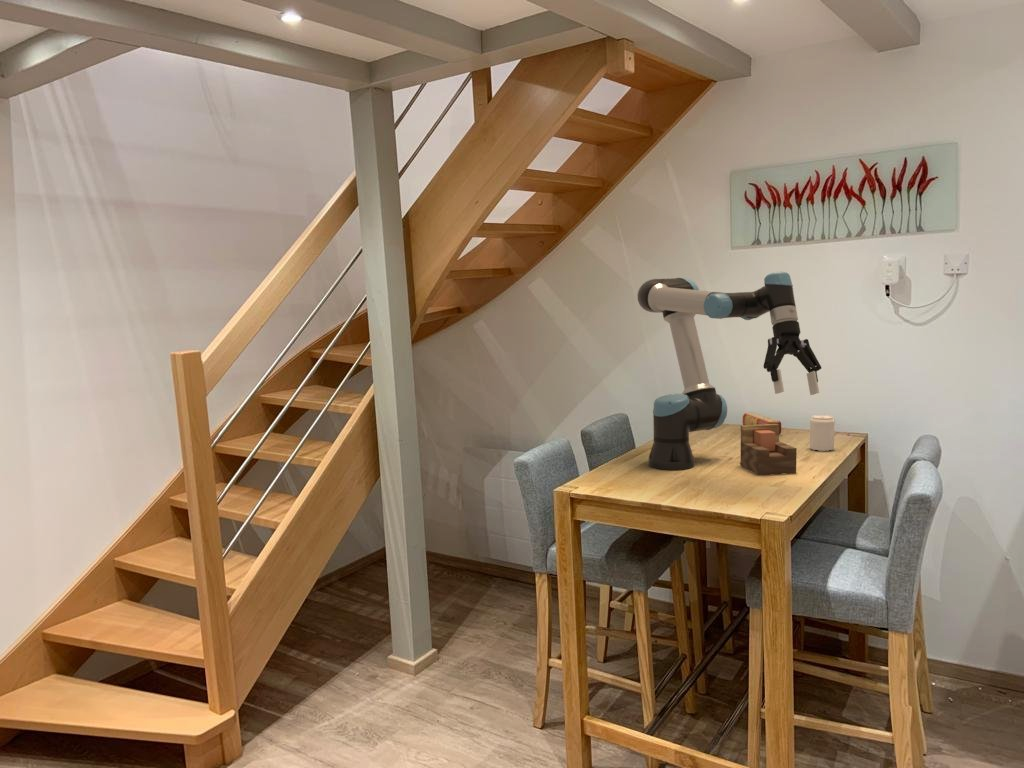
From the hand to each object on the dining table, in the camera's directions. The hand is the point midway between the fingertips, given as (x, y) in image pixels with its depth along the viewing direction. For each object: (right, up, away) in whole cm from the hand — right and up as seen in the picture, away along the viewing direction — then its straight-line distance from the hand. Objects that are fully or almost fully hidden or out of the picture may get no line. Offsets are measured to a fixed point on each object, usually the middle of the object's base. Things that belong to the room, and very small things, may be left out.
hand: (797, 393), depth 232 cm
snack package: (+19, -17, +93) cm, 96 cm away
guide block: (+1, -25, +29) cm, 38 cm away
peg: (-1, -18, +35) cm, 39 cm away
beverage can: (+29, -21, +56) cm, 66 cm away
